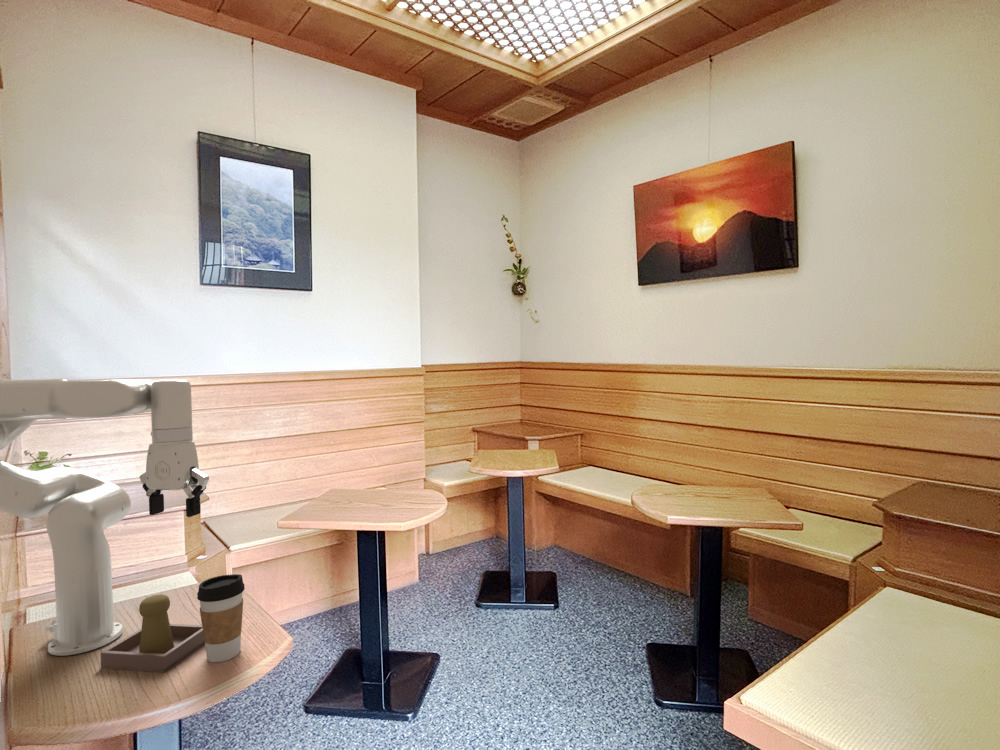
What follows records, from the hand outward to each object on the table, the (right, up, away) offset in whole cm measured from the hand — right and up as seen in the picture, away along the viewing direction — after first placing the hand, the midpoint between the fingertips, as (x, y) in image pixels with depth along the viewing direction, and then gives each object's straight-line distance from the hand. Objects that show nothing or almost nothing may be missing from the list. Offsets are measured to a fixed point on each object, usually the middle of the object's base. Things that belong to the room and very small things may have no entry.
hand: (175, 514), depth 115 cm
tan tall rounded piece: (+2, -25, -9) cm, 27 cm away
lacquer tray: (+2, -26, -8) cm, 27 cm away
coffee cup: (+16, -26, -10) cm, 32 cm away
